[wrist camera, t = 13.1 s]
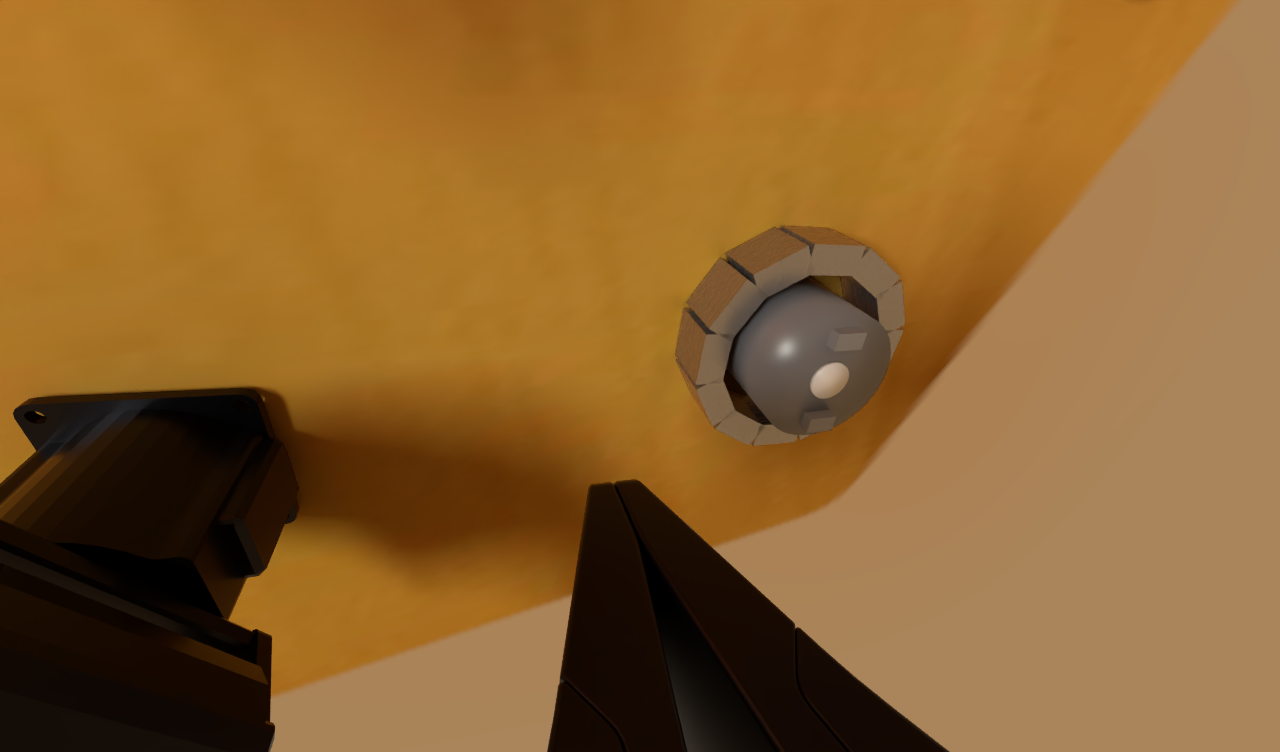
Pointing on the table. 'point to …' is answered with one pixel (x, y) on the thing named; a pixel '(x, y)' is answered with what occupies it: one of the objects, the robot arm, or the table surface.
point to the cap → (809, 358)
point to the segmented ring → (742, 290)
